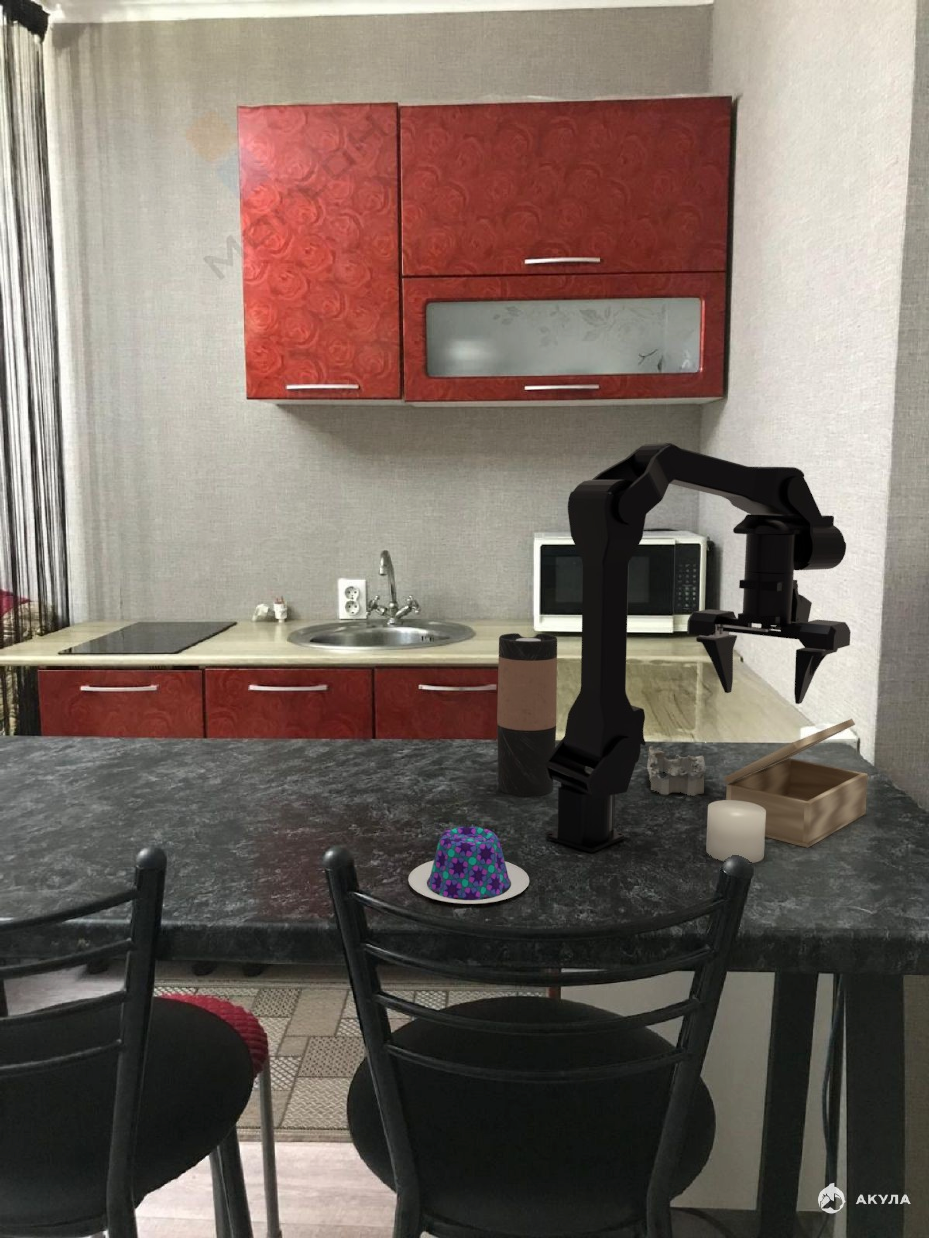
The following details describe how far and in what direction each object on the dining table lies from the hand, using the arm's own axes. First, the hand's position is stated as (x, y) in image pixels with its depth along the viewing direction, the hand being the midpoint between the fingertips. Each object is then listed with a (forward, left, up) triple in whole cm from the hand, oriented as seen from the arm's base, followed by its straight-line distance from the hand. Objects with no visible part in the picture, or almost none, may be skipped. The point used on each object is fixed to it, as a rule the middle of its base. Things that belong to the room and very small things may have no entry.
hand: (762, 697), depth 122 cm
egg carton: (0, +12, -14) cm, 18 cm away
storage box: (-3, -6, -13) cm, 15 cm away
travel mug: (-16, +25, -14) cm, 32 cm away
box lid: (-3, -5, -5) cm, 8 cm away
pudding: (-44, +9, -14) cm, 47 cm away
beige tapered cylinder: (-18, -6, -14) cm, 23 cm away
